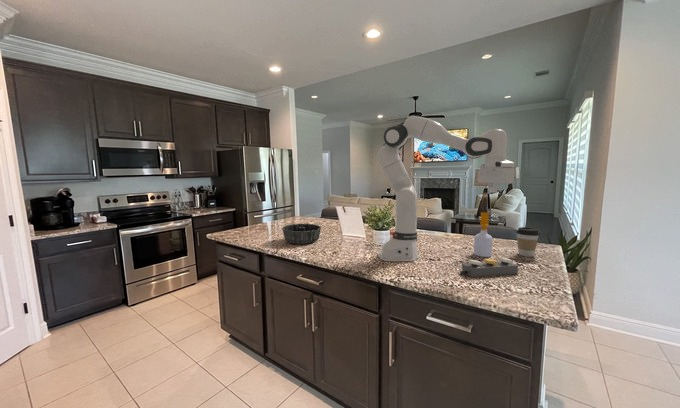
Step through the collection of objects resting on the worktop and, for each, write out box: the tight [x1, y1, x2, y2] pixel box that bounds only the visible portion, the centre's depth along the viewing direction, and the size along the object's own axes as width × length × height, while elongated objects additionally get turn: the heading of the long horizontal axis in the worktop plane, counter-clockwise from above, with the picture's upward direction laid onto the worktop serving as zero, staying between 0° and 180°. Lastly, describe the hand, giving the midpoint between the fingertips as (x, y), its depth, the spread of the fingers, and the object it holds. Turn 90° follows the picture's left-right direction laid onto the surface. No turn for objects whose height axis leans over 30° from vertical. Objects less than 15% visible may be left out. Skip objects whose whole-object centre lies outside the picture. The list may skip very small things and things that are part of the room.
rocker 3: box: [498, 256, 514, 263], centre depth 134 cm, size 5×3×1 cm, turn 101°
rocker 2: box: [483, 258, 499, 264], centre depth 133 cm, size 5×3×1 cm, turn 101°
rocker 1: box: [467, 259, 483, 265], centre depth 132 cm, size 5×3×1 cm, turn 101°
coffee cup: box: [515, 226, 541, 258], centre depth 161 cm, size 11×11×15 cm
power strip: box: [459, 260, 519, 278], centre depth 133 cm, size 27×7×5 cm, turn 101°
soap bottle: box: [473, 211, 493, 258], centre depth 160 cm, size 9×9×25 cm
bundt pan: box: [281, 223, 322, 245], centre depth 194 cm, size 26×26×10 cm
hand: (493, 192), depth 138 cm, fingers closed
